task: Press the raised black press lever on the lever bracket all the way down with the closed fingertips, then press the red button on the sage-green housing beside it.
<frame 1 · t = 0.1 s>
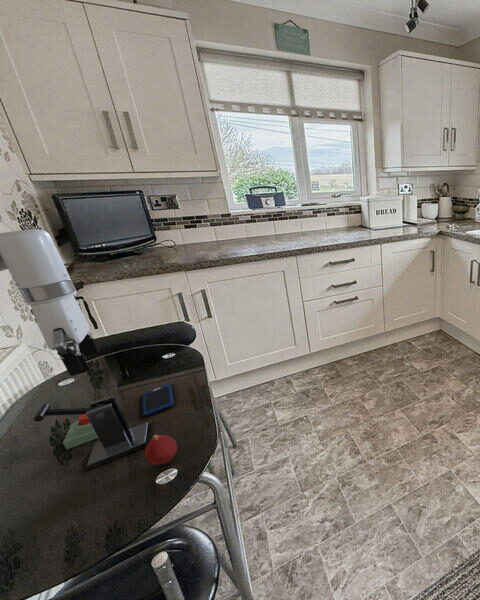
hand: (86, 363, 73), 24 cm above the table, tool pointing down, fingers open, 9 cm apart
cell phone: (158, 400, 98), on the table
red button: (88, 417, 86), point 4 cm above the table, slide at 0.1 cm
onion: (167, 463, 75), on the table
press lever: (76, 411, 74), point 13 cm above the table, hinge at 25.0°
button housing: (95, 431, 87), on the table
lever bracket: (121, 446, 81), on the table
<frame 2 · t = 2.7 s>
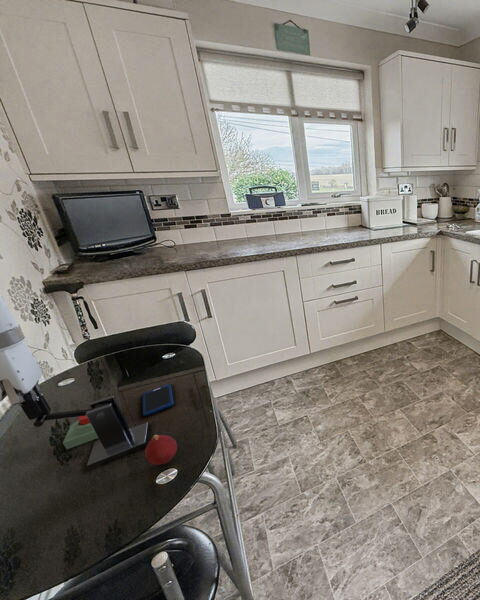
hand: (40, 414, 71), 15 cm above the table, tool pointing down, fingers closed
press lever: (75, 413, 75), point 12 cm above the table, hinge at 17.9°, touching gripper
everything else where it was.
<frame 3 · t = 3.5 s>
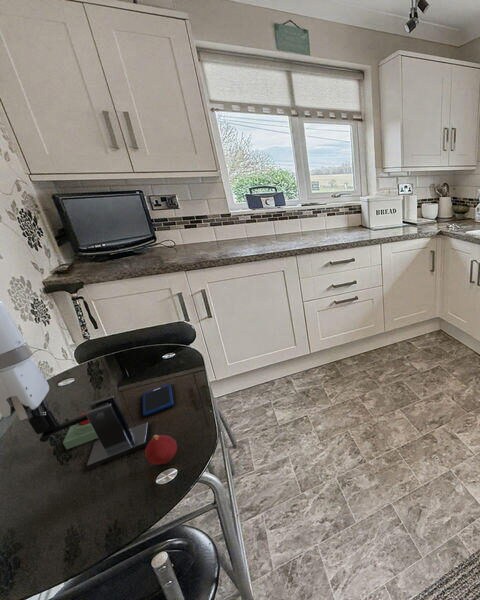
hand: (48, 429, 73), 11 cm above the table, tool pointing down, fingers closed
press lever: (78, 420, 75), point 11 cm above the table, hinge at -4.6°, touching gripper
everything else where it was.
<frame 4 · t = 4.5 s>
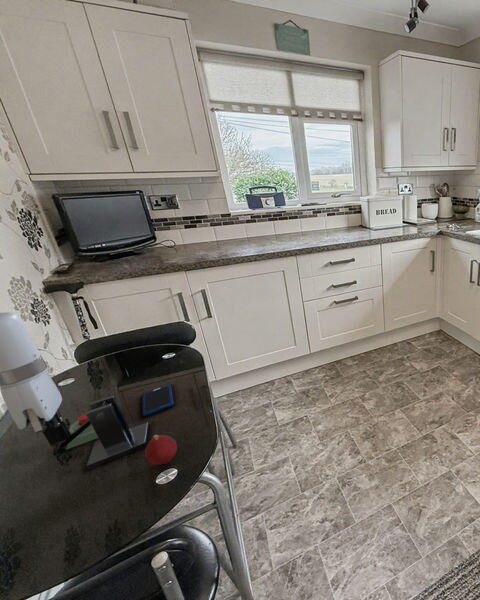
hand: (61, 439, 74), 7 cm above the table, tool pointing down, fingers closed
press lever: (85, 425, 76), point 9 cm above the table, hinge at -29.4°, touching gripper
everything else where it was.
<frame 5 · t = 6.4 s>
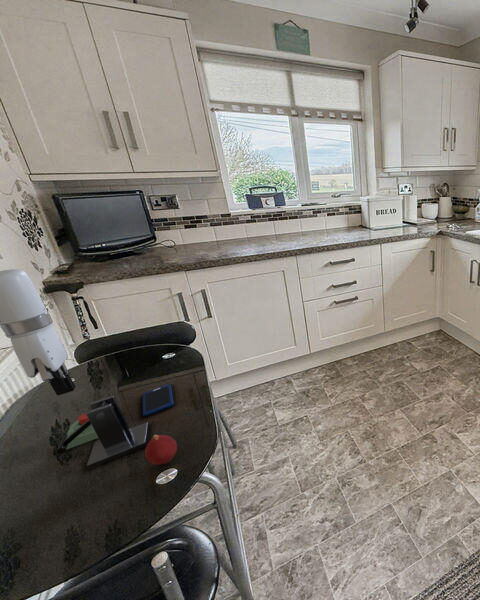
hand: (66, 391, 80), 14 cm above the table, tool pointing down, fingers closed
press lever: (85, 425, 76), point 9 cm above the table, hinge at -29.6°
everything else where it was.
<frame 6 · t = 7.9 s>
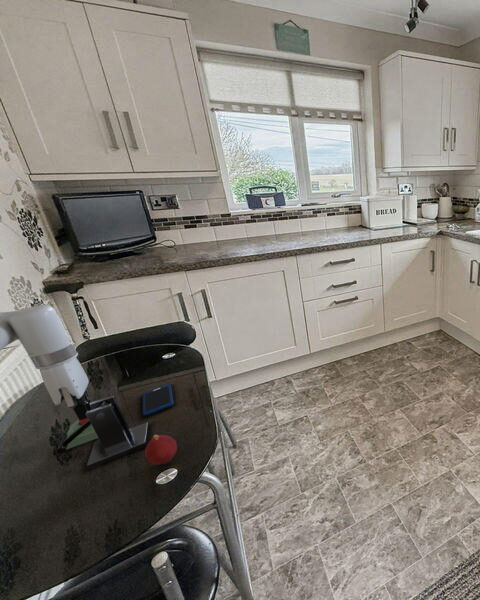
hand: (88, 415, 86), 5 cm above the table, tool pointing down, fingers closed
red button: (88, 419, 86), point 4 cm above the table, slide at -0.2 cm, touching gripper
everything else where it was.
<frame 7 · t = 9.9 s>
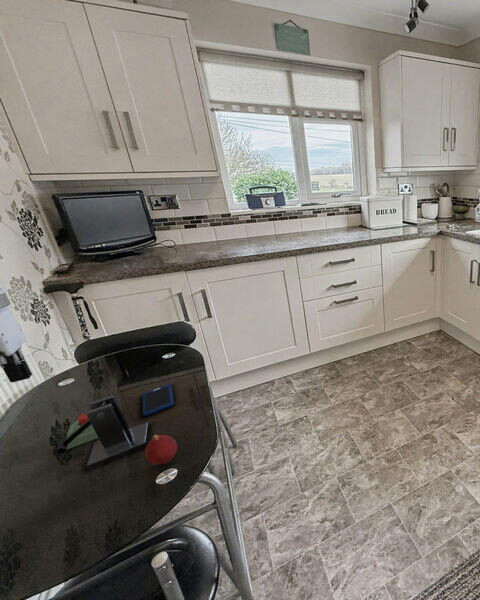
hand: (21, 378, 76), 21 cm above the table, tool pointing down, fingers closed
red button: (88, 417, 86), point 4 cm above the table, slide at 0.1 cm
everything else where it was.
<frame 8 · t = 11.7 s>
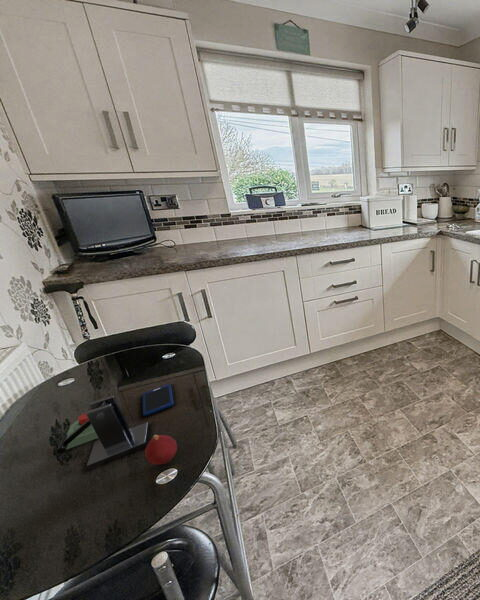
nothing on the table moved.
at the end: press lever at -30° (first picture: +25°); red button pushed in 1.1 cm at the most during the clip, back to where it started at the end; red button slide at 0.1 cm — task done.
